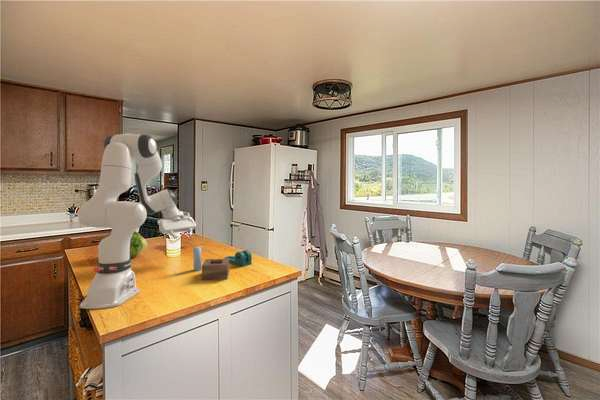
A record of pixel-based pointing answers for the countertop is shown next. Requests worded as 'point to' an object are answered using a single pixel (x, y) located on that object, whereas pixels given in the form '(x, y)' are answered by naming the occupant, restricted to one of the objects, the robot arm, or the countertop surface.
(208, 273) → the brown toaster
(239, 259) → the teal elongated piece
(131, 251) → the lettuce
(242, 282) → the countertop surface
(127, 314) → the countertop surface
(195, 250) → the blue dowel
